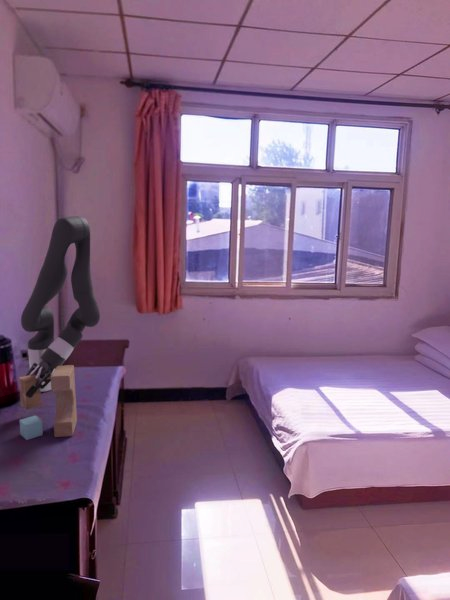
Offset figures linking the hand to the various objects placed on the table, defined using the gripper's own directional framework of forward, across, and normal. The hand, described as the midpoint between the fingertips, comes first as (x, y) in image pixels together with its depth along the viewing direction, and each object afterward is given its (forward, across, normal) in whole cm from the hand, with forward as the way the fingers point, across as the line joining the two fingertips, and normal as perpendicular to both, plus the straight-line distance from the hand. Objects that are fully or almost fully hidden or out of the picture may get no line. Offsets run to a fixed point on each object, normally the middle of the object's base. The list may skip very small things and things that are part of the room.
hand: (24, 393), depth 150 cm
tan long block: (+2, 0, +5) cm, 5 cm away
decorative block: (+2, +18, +10) cm, 20 cm away
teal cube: (+8, +13, +4) cm, 16 cm away
